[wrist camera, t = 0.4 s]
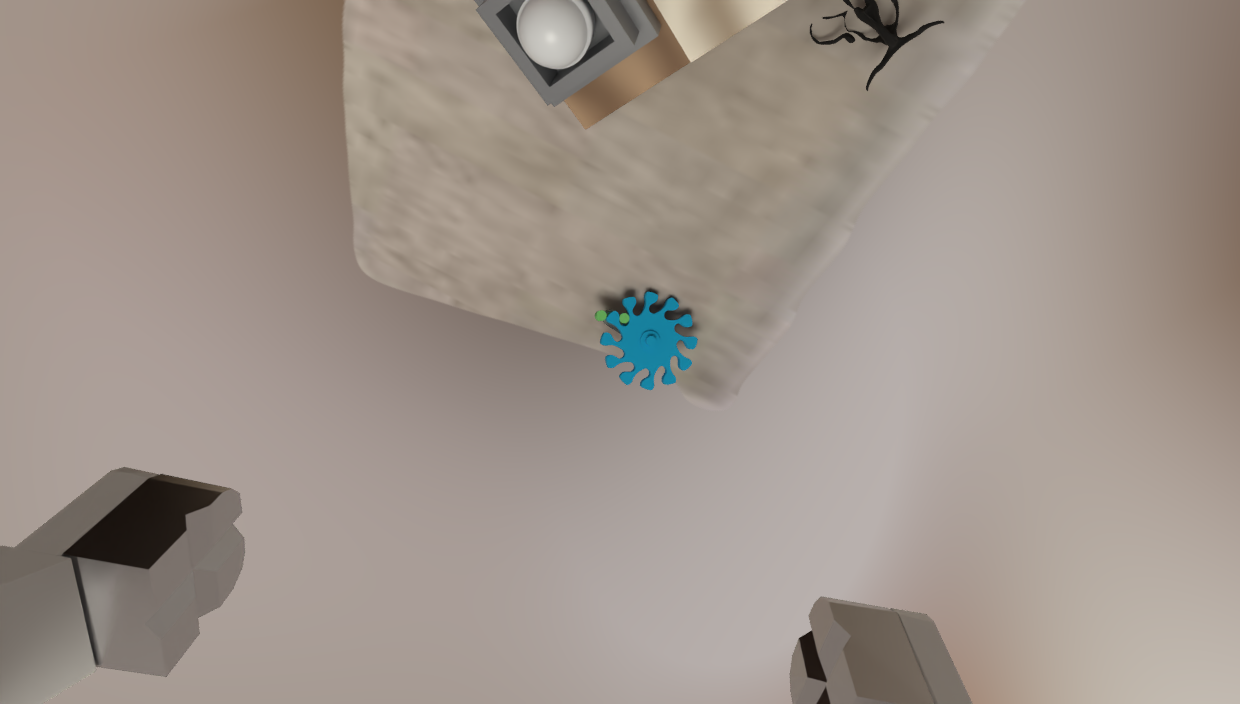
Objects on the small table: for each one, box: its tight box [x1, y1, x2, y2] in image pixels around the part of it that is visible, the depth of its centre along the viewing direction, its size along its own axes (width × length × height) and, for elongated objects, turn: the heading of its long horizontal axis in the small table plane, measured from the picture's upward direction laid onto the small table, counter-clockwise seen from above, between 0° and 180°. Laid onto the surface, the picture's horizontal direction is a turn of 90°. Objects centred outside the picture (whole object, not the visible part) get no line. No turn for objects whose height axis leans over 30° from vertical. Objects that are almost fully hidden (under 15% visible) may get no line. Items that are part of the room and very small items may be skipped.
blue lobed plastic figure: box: [595, 292, 698, 390], centre depth 71 cm, size 11×6×10 cm
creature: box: [810, 0, 944, 91], centre depth 47 cm, size 8×5×8 cm
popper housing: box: [474, 0, 661, 107], centre depth 49 cm, size 10×10×6 cm
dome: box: [517, 0, 595, 69], centre depth 46 cm, size 5×5×5 cm
